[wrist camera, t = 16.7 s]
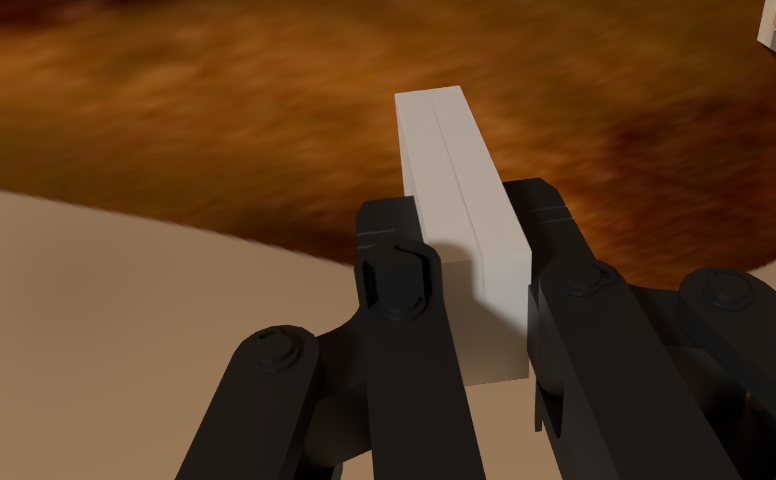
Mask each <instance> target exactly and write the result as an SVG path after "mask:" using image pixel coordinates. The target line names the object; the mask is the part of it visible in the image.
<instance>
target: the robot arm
mask: <svg viewBox="0 0 776 480" xmlns="http://www.w3.org/2000/svg"><path fill="white" fill-rule="evenodd" d="M395 102H396V112H397V122H398V132H399V142H400V152H401V162H402V173H403V183H404V193H405V197H397V198H389V199H381V200H374V201H366V202H364V203H363V205H362V206H361V208H360V210H359V211H358V213H357V215H356V216H355V222H356V234H357V247H358V258H357V259H356V263H355V267H354V273H355V280H356V286H357V292H358V299H359V305H360V306H359V308H358V310H357V312H356V313H355V315H353V317H352V318H351V319H350V320H349V321H348V322H346V323H345V324H343V325H342V326H340V327H338V328H336V329H334V330H332V331H330V332H328V333H325V334H322V335H320V336H317V337H315V336H314V335H313V334H312V333H310V332H309V331H307V330H306V329H304V328H302V327H297V326H292V325H280V326H271V327H268V328H266V329H263V330H260V331H258V332H255V333H254V334H252V335H251V336H249V337H248V338H247V339H245V340H244V341H242V343H241V344H240V345H239V347H238V348H237V349H236V351H235V352H234V354H233V356H232V358H231V360H230V362H229V364H228V367H227V369H226V371H225V373H224V375H223V377H222V379H221V382H220V384H219V386H218V388H217V390H216V392H215V394H214V397H213V399H212V401H211V403H210V405H209V407H208V409H207V412H206V414H205V416H204V418H203V420H202V422H201V424H200V427H199V429H198V431H197V433H196V435H195V437H194V439H193V442H192V444H191V446H190V448H189V450H188V452H187V454H186V457H185V459H184V461H183V463H182V465H181V467H180V470H179V472H178V474H177V476H176V478H175V480H340V478H341V475H342V470H343V462H345V461H347V460H349V459H351V458H354V457H356V456H358V455H360V454H363V453H365V452H367V451H369V450H372V459H373V471H374V472H373V473H374V480H486V477H485V473H484V469H483V464H482V460H481V456H480V451H479V447H478V443H477V439H476V435H475V430H474V426H473V422H472V418H471V413H470V409H469V405H468V401H467V397H466V392H465V389H464V386H471V385H478V384H486V383H494V382H501V381H509V380H517V379H524V378H529V358H530V361H531V364H532V366H533V369H534V372H535V375H536V393H535V395H536V396H535V432H538V431H542V420H543V423H544V426H545V429H546V432H547V435H548V438H549V441H550V444H551V446H552V450H553V453H554V455H555V458H556V461H557V465H558V468H559V470H560V473H561V476H562V479H563V480H776V291H775V290H774V289H773V288H771V287H770V286H769V285H767V284H766V283H765V282H763V281H761V280H760V279H758V278H756V277H754V276H753V275H751V274H749V273H746V272H742V271H739V270H736V269H732V268H721V267H710V268H703V269H698V270H696V271H694V272H692V273H690V274H688V275H686V276H685V278H684V279H683V281H682V282H681V284H680V288H679V291H674V290H663V289H651V288H644V287H638V286H634V285H630V284H627V282H626V281H625V279H624V277H623V276H622V275H621V274H620V273H619V272H618V271H617V270H616V269H615V268H614V267H612V266H610V265H608V264H606V263H604V262H603V261H600V260H596V259H595V257H594V255H593V253H592V251H591V250H590V248H589V246H588V244H587V242H586V241H585V239H584V237H583V235H582V233H581V232H580V230H579V228H578V226H577V224H576V223H575V221H574V220H572V215H571V214H570V212H569V210H568V208H567V207H565V203H564V201H563V199H562V197H561V196H560V194H559V192H558V190H557V189H556V188H554V187H553V186H551V185H550V184H548V183H547V182H545V181H544V180H542V179H541V178H532V179H524V180H516V181H508V182H501V180H500V178H499V175H498V173H497V171H496V168H495V166H494V164H493V162H492V159H491V157H490V155H489V152H488V150H487V148H486V145H485V143H484V141H483V139H482V136H481V134H480V132H479V129H478V127H477V125H476V122H475V120H474V118H473V116H472V113H471V111H470V109H469V106H468V104H467V102H466V99H465V97H464V95H463V93H462V90H461V88H460V86H453V87H445V88H437V89H429V90H421V91H413V92H405V93H397V94H395Z"/></svg>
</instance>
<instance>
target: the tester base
mask: <svg viewBox="0 0 776 480" xmlns="http://www.w3.org/2000/svg"><path fill="white" fill-rule="evenodd" d="M775 13H776V0H765V5H764V10H763V15H762V19H761V24H760V29H759V34H758V38H757V40H758V41H759V42H761V43H763V44H764V45H766V46H767V47H769V48H770V49H772V50H774V51H775V52H776V26H774V25H773V22H774V17H775Z"/></svg>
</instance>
